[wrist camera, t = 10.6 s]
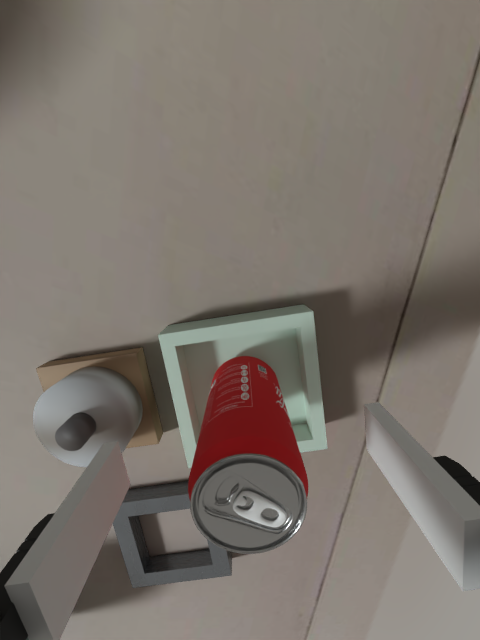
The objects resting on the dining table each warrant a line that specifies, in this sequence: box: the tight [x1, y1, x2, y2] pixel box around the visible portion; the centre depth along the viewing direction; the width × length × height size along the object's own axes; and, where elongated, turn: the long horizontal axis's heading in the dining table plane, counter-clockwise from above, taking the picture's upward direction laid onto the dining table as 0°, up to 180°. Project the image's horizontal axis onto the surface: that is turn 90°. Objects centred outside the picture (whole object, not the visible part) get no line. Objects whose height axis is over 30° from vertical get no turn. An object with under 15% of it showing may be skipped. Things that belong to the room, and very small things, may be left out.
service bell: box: [33, 347, 163, 467], centre depth 22 cm, size 8×8×6 cm
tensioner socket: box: [113, 481, 232, 588], centre depth 26 cm, size 10×10×2 cm
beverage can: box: [188, 356, 308, 554], centre depth 17 cm, size 5×5×12 cm
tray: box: [158, 304, 327, 468], centre depth 22 cm, size 11×11×3 cm
